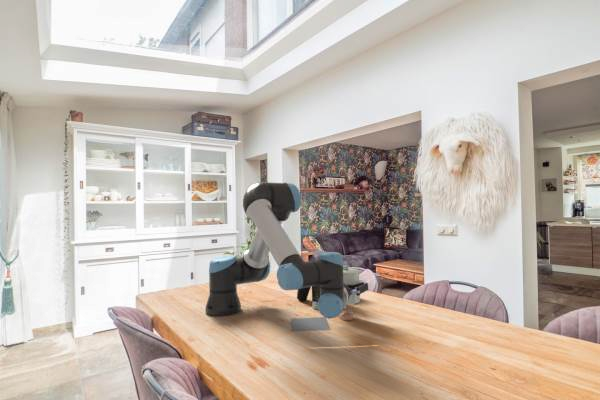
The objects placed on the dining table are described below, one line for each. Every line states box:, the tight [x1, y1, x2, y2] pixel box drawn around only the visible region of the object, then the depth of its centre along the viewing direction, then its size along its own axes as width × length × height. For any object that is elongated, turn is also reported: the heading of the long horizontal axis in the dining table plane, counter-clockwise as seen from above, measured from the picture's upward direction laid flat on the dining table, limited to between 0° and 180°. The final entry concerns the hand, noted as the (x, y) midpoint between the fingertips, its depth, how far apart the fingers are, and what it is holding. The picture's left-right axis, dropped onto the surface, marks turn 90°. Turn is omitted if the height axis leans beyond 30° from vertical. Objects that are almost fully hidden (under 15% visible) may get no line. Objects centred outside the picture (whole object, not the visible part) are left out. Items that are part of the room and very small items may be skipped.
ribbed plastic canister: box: [343, 265, 361, 305], centre depth 131 cm, size 10×10×14 cm
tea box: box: [311, 285, 347, 310], centre depth 149 cm, size 15×10×15 cm, turn 87°
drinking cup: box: [296, 286, 312, 302], centre depth 157 cm, size 8×8×20 cm
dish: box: [338, 310, 355, 321], centre depth 131 cm, size 6×6×3 cm
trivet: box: [290, 316, 332, 332], centre depth 125 cm, size 14×14×1 cm
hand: (347, 281), depth 135 cm, fingers closed on ribbed plastic canister, 10 cm apart
